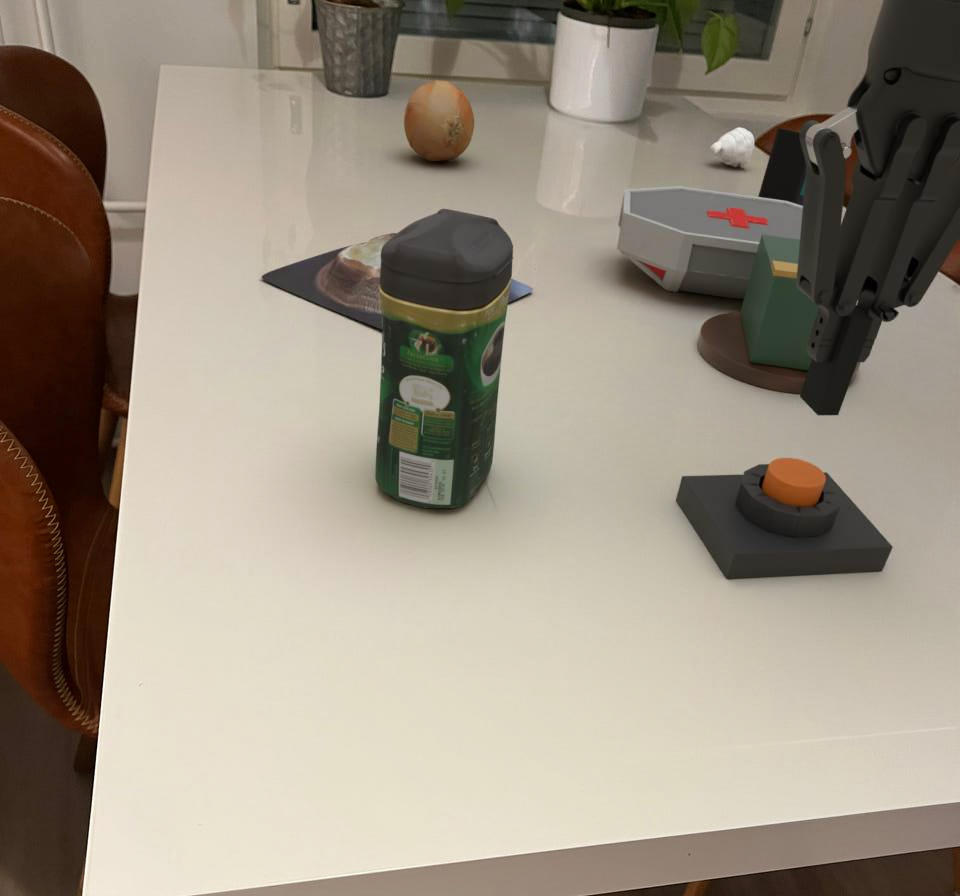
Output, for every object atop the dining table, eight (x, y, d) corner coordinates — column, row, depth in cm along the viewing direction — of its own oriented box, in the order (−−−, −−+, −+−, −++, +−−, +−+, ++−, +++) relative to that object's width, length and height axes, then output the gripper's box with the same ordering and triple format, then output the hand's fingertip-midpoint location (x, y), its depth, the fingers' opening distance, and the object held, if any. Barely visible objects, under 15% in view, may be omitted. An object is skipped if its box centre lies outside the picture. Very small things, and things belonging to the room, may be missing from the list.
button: (802, 477, 72) (810, 456, 71) (828, 507, 69) (836, 486, 68) (752, 479, 71) (759, 457, 70) (776, 509, 68) (783, 487, 67)
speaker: (789, 221, 132) (813, 136, 126) (752, 211, 135) (775, 127, 129) (816, 219, 137) (841, 136, 131) (781, 209, 140) (804, 128, 134)
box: (738, 313, 101) (762, 227, 95) (808, 323, 101) (836, 237, 95) (749, 362, 92) (775, 270, 86) (826, 373, 91) (857, 281, 86)
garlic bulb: (699, 161, 153) (707, 123, 149) (730, 161, 155) (739, 123, 152) (718, 172, 149) (727, 133, 146) (750, 171, 151) (760, 132, 148)
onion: (430, 174, 134) (435, 92, 128) (388, 154, 140) (391, 74, 133) (485, 167, 139) (492, 88, 133) (442, 148, 145) (447, 71, 138)
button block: (817, 496, 77) (834, 451, 75) (882, 572, 70) (902, 525, 67) (675, 500, 75) (687, 454, 72) (726, 580, 67) (741, 531, 65)
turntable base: (811, 325, 105) (815, 312, 104) (885, 393, 93) (891, 378, 92) (674, 324, 101) (678, 310, 100) (734, 394, 90) (738, 379, 89)
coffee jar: (406, 438, 78) (419, 191, 66) (501, 462, 76) (532, 214, 65) (357, 497, 71) (361, 232, 59) (461, 524, 69) (487, 258, 57)
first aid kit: (609, 297, 105) (843, 330, 104) (623, 225, 100) (867, 259, 100) (613, 244, 119) (819, 273, 118) (624, 178, 114) (840, 208, 113)
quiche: (536, 292, 104) (541, 254, 102) (411, 345, 91) (413, 303, 89) (388, 238, 113) (389, 201, 110) (255, 279, 100) (253, 239, 97)
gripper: (891, -17, 46) (751, 434, 61) (1122, 7, 49) (934, 432, 64) (818, -39, 52) (707, 380, 67) (1029, -17, 54) (877, 380, 70)
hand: (818, 405), depth 65 cm, fingers closed
